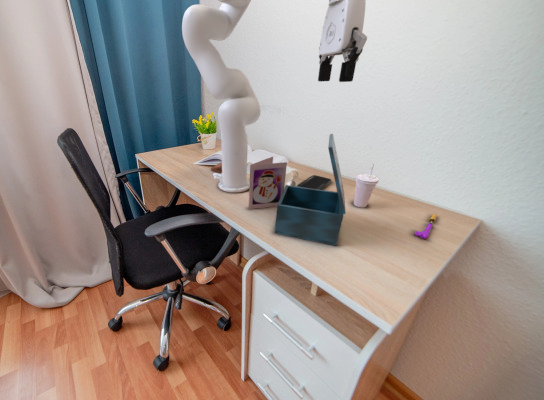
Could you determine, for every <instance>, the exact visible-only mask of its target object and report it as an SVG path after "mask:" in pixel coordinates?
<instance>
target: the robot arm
mask: <svg viewBox="0 0 544 400" xmlns="http://www.w3.org/2000/svg"><path fill="white" fill-rule="evenodd" d="M218 1H219V2H220V3H221V4H220V6H219V8H217V7H213V6H210V5H207V4H201V3H198V4H197V3H196V4H191V5H190V6H189V7H188V8H187V9H185V11H184V14H183V17H182V20H181V21H182V23H181V34H182V39H183V42H184V46H185V48H186V50H187V52H188V53H189V55H190V57H191V58H192V60H193V62H194V64H195V66H196V67H197V69H198V72H199V74H200V75H201V78H202V81H203V82H204V84H205V86H206V88H207V90H208V92H209V94H210V95H211V97H212V98H213V99H215V100H225V101H223V102H222V104H220V106H219V108H218V110H217V121H218V126H219V130H220V141H221V142H220V144H221V145H220V147H221V162H222V173H218V172H213V175H212V177H213V180H215V181H219V182H218V184H217V185H218V188H219V190H221V191H224V192H226V193H241V192H245V191H249V185H250V180H248V151H249V150H248V144H249V141H248V140H249V139H248V134H247V131H246V127H247V126H250V125H253V124H255V123H256V122H257V121H258V120H259V118H260V117H261V110H262V109H261V105H260V102H259V100H258V98H257V95H256V93H255V91H254V89H253V86H252V85H251V83H250V81H249V79H248V78H247V75H246V74H245V72H243V71H242V70H240V69H237V68H229V67H227V65H226V64H225V62H224V60H223V58H222V56H221V53H220V52H219V51H218V49H217V47H216V46H215V45H214V44H213V43H212V42H211V40H212V41H217V42H219V41H224V40H227V39H228V38H229V37H230V36H231V34H232V33H233V32H234V30H235V28H236V27H237V25H238V24H239V22H240V20H241V19H242V18H243V15H245V12H246V11H247V9H248V7H249V5H250V3H251V1H252V0H218ZM366 4H367V3H366V0H328V7H327V10H326V13H325V17H324V20H323V21H324V22H323V26H322V31H321V38H320V43H319V47H318V54H319V55H318V58H319V62H318V64H319V69H318V76H317V81H318V82H330V81H331V77H332V76H331V75H332V69H333V63H332V62H333V60H334V58H335V56H342V58H343V61H344V62H343V61H342V62H341V65H340V72H339V77H338V78H339V79H338V82H340V83H348V82H349V83H350V82H353V80H354V76H355V72H356V66H357V62H358V61H359V60H360V55H361V54H362V52H363V49H364V47H365V45H366V42H367V40H368V36H367V35H366V34H365V33H364V32H363V30H364V24H365V23H364V22H365V14H366Z"/></svg>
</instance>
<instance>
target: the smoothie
mask: <svg viewBox="0 0 544 400" xmlns="http://www.w3.org/2000/svg"><path fill="white" fill-rule="evenodd" d="M374 166H375V164H374V163H372V164H371V167H370V169H369V174H368V173H359V174H356V175H355V178H354V179H355V187H354V196H353V205H354V206H355V207H358V208H366V207H367V205H368V203H369V201H370V199H371V197H372V194H373V192H374V190H375V188H376V186H377V184H379V181H380V178H378V177H377V176H375V175H372V173H373V170H374Z"/></svg>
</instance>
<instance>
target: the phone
mask: <svg viewBox="0 0 544 400" xmlns="http://www.w3.org/2000/svg"><path fill="white" fill-rule="evenodd" d="M331 183H332V179H331V178H328V177H325V176H320V175H316V174H313V175H311V176H309V177H308V178H306V179H305V180H303V181H302V182H300V183H298V184H297V185H296V186H297V187H304V188H312V189H319V190H324V189H325V188H326V187H327V186H328V185H331Z"/></svg>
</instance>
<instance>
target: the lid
mask: <svg viewBox="0 0 544 400" xmlns="http://www.w3.org/2000/svg"><path fill="white" fill-rule="evenodd" d="M334 138H335V137H334V134H333V133H329V137H328V147H327V148H328V154H329V159H330V164H331V168H332V174H333V177H334V183H335V187H336V192H337V193H338V198H339V203H340V208H341V212H342V215H343V216H344V215H346V213H347V212H346V198H345V189H344V182H343V178H342V177H343V176H342V173H341V168H340V163H339V157H338V153H337V147H336V142H335V139H334Z"/></svg>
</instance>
